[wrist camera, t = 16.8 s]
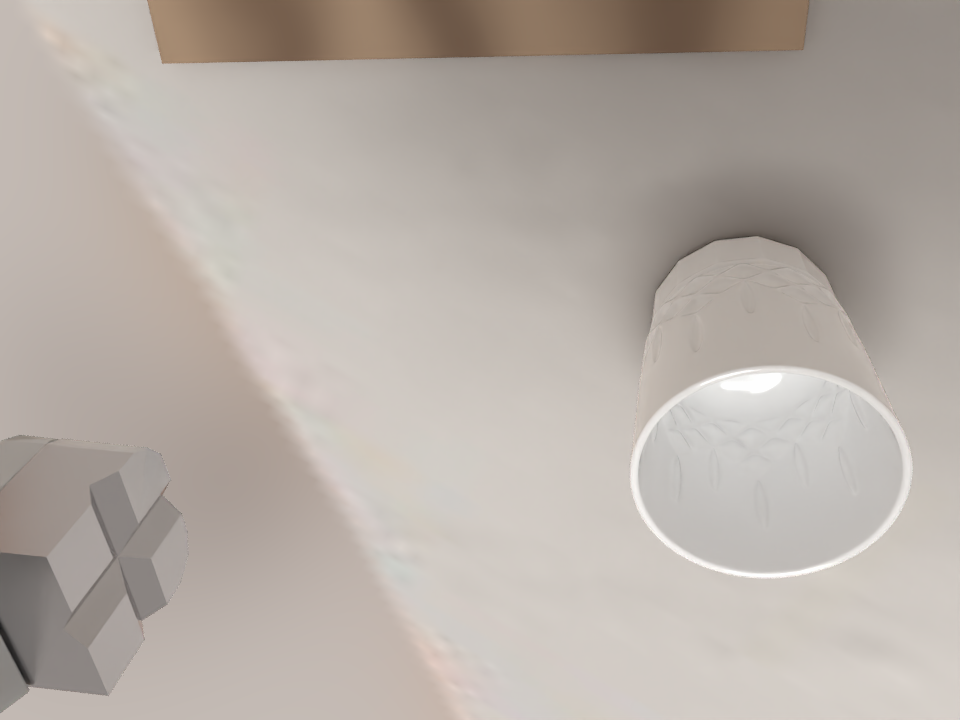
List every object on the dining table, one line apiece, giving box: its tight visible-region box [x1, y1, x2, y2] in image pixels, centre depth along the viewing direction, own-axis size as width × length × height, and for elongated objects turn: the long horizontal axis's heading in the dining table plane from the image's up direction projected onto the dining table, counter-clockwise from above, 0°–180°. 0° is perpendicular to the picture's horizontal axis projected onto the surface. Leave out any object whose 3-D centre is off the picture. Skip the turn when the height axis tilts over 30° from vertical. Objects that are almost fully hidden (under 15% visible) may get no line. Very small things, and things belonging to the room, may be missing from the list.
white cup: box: [630, 236, 913, 578], centre depth 31 cm, size 8×8×10 cm
